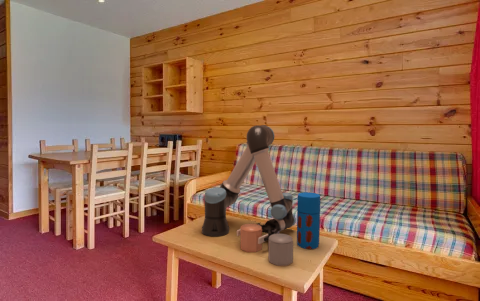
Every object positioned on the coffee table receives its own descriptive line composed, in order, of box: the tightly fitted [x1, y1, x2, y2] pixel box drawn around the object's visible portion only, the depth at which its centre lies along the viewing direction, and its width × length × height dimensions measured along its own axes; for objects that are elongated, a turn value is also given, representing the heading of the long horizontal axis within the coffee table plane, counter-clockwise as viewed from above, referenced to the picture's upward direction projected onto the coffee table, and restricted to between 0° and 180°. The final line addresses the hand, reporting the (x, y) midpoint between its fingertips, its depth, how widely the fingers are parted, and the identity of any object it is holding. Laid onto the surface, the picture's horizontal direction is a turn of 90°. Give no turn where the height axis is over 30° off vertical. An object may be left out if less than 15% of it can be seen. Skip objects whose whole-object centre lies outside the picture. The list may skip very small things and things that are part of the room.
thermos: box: [296, 192, 321, 250], centre depth 143 cm, size 11×11×25 cm
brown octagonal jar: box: [267, 233, 294, 267], centre depth 127 cm, size 10×10×10 cm
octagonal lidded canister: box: [240, 223, 263, 253], centre depth 140 cm, size 10×10×10 cm
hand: (247, 237), depth 138 cm, fingers open, 13 cm apart
